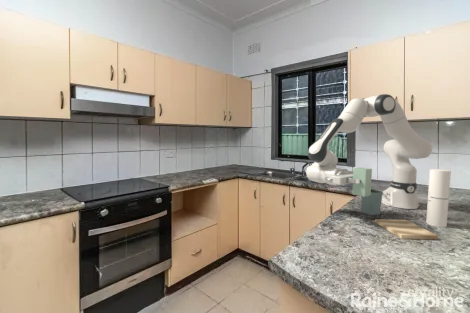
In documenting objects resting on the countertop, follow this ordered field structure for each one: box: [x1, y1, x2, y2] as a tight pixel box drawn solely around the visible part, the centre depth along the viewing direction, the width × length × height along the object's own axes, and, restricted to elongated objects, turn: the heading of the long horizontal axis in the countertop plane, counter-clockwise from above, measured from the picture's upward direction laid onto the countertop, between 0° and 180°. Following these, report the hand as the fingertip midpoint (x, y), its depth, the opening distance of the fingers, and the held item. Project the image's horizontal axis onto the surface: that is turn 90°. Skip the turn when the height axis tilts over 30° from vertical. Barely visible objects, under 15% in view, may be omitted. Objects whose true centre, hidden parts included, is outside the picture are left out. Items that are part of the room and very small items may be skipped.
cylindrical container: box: [425, 168, 452, 228], centre depth 107 cm, size 7×7×25 cm
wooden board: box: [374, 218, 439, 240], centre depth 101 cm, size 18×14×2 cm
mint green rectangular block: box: [351, 167, 373, 197], centre depth 107 cm, size 6×6×12 cm
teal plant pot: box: [360, 188, 384, 216], centre depth 124 cm, size 10×10×12 cm
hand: (364, 180), depth 107 cm, fingers closed on mint green rectangular block, 5 cm apart
